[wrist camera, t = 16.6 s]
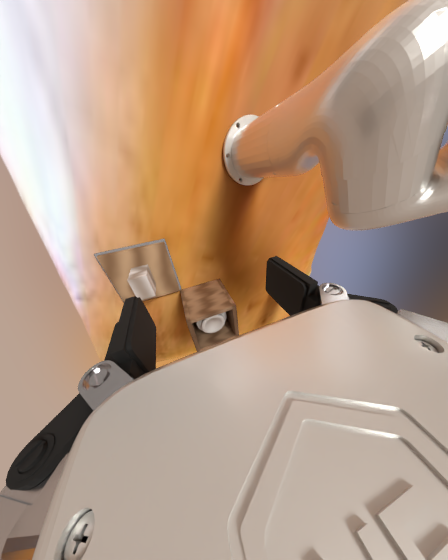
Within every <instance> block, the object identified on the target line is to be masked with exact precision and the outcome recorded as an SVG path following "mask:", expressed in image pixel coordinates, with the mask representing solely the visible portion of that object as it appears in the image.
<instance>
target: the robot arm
mask: <svg viewBox="0 0 448 560" xmlns="http://www.w3.org/2000/svg"><path fill="white" fill-rule="evenodd" d="M236 125H237V127H236ZM447 125H448V0H408V1H407V2H405V3H404V4H402V5H401V6H400V7H398V8H397V9H395V10H394V11H392V12H391V13H390V14H388V15H387V16H386V17H385V18H383V19H382V20H381V21H380V22H378V23H377V24H376V25H375V26H374V27H372V28H371V29H370V30H369V31H368V32H367V33H366V34H364V35H363V36H362V37H361V38H360V39H359V40H358V41H357V42H356V43H355V44H354V45H353V46H352V47H351V48H349V49H348V50H347V51H346V52H345V53H344V54H343V55H342V56H341V57H340V58H339V59H338V60H337V61H335V62H334V63H333V64H332V65H331V66H330V67H329V68H328V69H326V70H325V71H324V72H323V73H322V74H320V75H319V76H318V77H317V78H316V79H314V80H313V81H312V82H310V83H309V84H308V85H306V86H305V87H303V88H302V89H301V90H299V91H298V92H296V93H295V94H293V95H292V96H290V97H288V98H287V99H286V100H284V101H282V102H281V103H279V104H278V105H276V106H275V107H273V108H272V109H270V110H269V111H267V112H266V113H264V114H263V115H261V116H260V117H258V116H256V115H245V116H243V117H241V118H239V119H238V120H236V121H235V122H234V123H233V124H232V126H231V127H230V129H229V130H228V132H227V135H226V137H225V141H224V147H223V159H224V164H225V167H226V170H227V172H228V174H229V175H230V177H231V178H232V179H233V180H234V181H235V182H237V183H239V184H241V185H254V184H256V183H258V182H259V181H261V180H262V179H263V178H264V177H284V176H297V175H301V174H304V173H306V172H307V171H309V170H311V169H312V168H313V167H315V166H316V165H317V164H318V163H320V168H321V175H322V177H323V183H324V190H325V196H326V203H327V210H328V214H329V217H330V219H331V221H332V222H333V223H334V224H335V225H336V226H338V227H339V228H342V229H346V230H369V229H375V228H381V227H385V226H390V225H394V224H399V223H403V222H407V221H411V220H415V219H419V218H423V217H426V216H431V215H434V214H438V213H443V212H447V211H448V141H447V143H446V144H445V146H443V147H442V148H440V147H441V143H442V139H443V135H444V133H445V131H446V128H447ZM226 155H227V156H228V157H226ZM239 179H240V181H239ZM317 284H318V282H317V281H316V280H314V279H312V278H311V277H309V276H308V275H306V274H304V273H303V272H301V271H300V270H298V269H297V268H295V267H293V266H292V265H290V264H289V263H287V262H285V261H284V260H282V259H281V258H279V257H277V256H275V257H272V258H269V260H268V261H267V271H266V291H267V293H268V294H269V295H270V296H271V297H272V298H273V299H274V300H275V301H276V302H277V303H278V304H279V305H280V306H281V307H282V308H283V309H284V310H285V311H286V312H287V313H288V314H289V315H290V316H289V317H286V318H284V319H281V320H279V321H276V322H273V323H271V324H268V325H265V326H263V327H260V328H258V329H255V330H252V331H250V332H247V333H245V334H242V335H239V336H237V337H234V338H232V339H229V340H227V341H224V342H221V343H219V344H216V345H214V346H211V347H209V348H206V349H204V350H201V351H198V352H196V353H193V354H191V355H188V356H186V357H183V358H181V359H178V360H176V361H174V362H171V363H169V364H166V365H164V366H161V367H159V368H157V369H156V326H155V324H154V322H153V320H152V318H151V316H150V315H149V313H148V311H147V309H146V307H145V305H144V303H143V302H142V300H141V298H140V297H138V298H137V297H136V296H134V297H130V298H127V299H125V302H124V305H123V309H122V312H121V316H120V319H119V322H117V323H116V325H115V328H114V331H113V334H112V337H111V341H110V344H109V347H108V351H107V354H106V357H105V360H104V361H102V362H99V363H98V364H96V365H94V366H93V367H92V368H90V369H89V370H88V371H87V372H86V373H85V374H84V375H83V377H82V378H81V380H80V382H79V385H78V391H79V394H78V395H77V397H75V398H74V399H73V400H72V401H71V402H70V403H69V404H68V405H67V406H66V407H65V408H64V409H63V410H62V411H61V412H60V413H59V414H58V415H57V416H56V417H55V418H54V419H53V420H52V421H51V422H50V423H49V424H48V425H47V426H46V427H45V428H44V429H43V430H42V431H41V432H40V433H38V434H37V436H35V437H34V438H33V439H32V440H31V441H30V442H29V443H28V444H27V445H26V447H25V448H24V449H23V450H22V451H21V452H20V453H19V455H18V456H17V458H16V459H15V460H14V462H13V463H12V465H11V467H10V469H9V471H8V474H7V478H6V486H5V487H4V488H3V490H2V491H1V492H0V560H448V323H446V322H442V321H439V320H436V319H432V318H429V317H425V316H422V315H419V314H416V313H412V312H409V311H406V310H403V309H400V311H398V310H397V308H396V307H395V306H394V305H392V304H391V303H389V302H387V301H385V300H382V299H377V298H371V297H364V296H358V295H351V294H347V292H346V290H345V289H344V288H343V287H341V286H339V285H337V284H333V283H324V284H321V285H320V286H318V285H317Z"/></svg>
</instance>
